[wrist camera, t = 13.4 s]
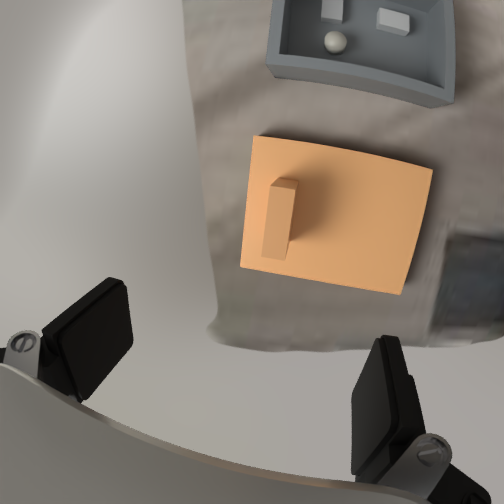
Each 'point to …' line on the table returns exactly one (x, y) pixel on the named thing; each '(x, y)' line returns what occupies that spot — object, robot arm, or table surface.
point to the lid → (332, 214)
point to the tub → (367, 46)
